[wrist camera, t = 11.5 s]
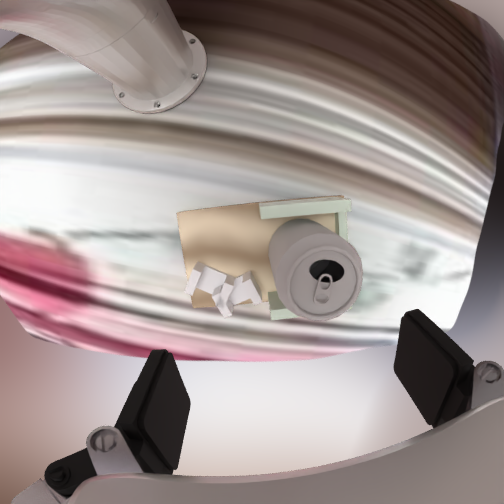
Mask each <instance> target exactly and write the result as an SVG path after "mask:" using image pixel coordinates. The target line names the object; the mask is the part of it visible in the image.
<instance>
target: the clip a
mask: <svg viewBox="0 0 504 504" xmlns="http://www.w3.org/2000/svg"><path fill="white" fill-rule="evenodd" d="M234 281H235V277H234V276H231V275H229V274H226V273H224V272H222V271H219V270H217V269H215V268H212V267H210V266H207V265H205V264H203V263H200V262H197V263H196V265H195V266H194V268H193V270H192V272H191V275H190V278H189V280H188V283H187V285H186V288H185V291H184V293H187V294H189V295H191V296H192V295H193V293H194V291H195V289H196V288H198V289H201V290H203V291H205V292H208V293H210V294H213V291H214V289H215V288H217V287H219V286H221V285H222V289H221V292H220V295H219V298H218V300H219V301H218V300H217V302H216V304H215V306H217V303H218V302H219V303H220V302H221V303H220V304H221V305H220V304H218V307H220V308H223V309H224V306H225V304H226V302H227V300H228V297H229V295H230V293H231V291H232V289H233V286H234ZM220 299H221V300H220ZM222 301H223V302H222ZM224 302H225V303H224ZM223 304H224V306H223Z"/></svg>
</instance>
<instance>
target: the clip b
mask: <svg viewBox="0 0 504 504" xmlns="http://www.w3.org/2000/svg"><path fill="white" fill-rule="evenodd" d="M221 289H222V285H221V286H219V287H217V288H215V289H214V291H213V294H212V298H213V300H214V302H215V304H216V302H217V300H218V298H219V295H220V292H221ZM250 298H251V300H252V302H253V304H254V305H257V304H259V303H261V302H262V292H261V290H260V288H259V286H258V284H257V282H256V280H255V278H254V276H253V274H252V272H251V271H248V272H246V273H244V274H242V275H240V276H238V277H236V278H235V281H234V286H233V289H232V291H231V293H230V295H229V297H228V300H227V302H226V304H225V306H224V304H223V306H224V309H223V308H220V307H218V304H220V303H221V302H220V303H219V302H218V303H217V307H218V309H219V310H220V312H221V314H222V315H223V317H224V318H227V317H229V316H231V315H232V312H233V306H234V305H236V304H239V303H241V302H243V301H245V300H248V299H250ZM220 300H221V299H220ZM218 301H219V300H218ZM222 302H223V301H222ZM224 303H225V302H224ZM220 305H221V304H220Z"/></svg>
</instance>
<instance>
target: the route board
mask: <svg viewBox="0 0 504 504" xmlns="http://www.w3.org/2000/svg"><path fill="white" fill-rule="evenodd" d="M324 197H340V198H344V196H342V195H339V196H324ZM324 197H311V198H324ZM311 198H298V199H287V200H299V199H311ZM287 200H276V201H287ZM276 201H266V202H276ZM266 202H256V203H247V204H238V205H229V206H221V207H213V208H205V209H198V210H190V211H183V212H178V213H177V219H178V226H179V233H180V239H181V245H182V251H183V257H184V263H185V268H186V274H187V279H188V280H189V278H190V275H191V272H192V270H193V268H194V266H195V265H196V263H197V262H200V263H203V264H205V265H207V266H210V267H212V268H215V269H217V270H219V271H222V272H224V273H226V274H229V275H231V276H234V277H235V278H236V277H238V276H240V275H242V274H244V273H246V272H248V271H251V272H252V274H253V276H254V278H255V280H256V282H257V284H258V286H259V288H260V290H261V292H262V302H268V292H274V291H277V289H276V286H275V282H274V277H273V273H272V269H271V264H270V260H269V256H268V253H269V243H270V241H271V238H272V235H273V234H274V233H275V231H276V230H277V229H278V228H279V227H280V226H281V225H283V224H284V223H286V222H287V221H290V220H294V219H297V218H302V219H310V220H313V221H315V222H318V223H319V224H321V225H323V226H324V227H326V228H328V229H329V230H331V231H333V232H334V233H336V231H335V213H324V214H313V215H302V216H291V217H280V218H270V219H261V216H260V211H259V203H266ZM191 300H192V305H193V308H201V307H214V306H215V302H214V300H213V298H212V294H210V293H208V292H205V291H203V290H201V289H198V288H196V289H195V291H194V293H193V295H192V296H191ZM249 303H253V302H252V300H251V298H250V299H248V300H245V301H243V302H241V303H239V304H249ZM236 305H238V304H236Z"/></svg>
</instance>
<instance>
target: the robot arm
mask: <svg viewBox="0 0 504 504" xmlns="http://www.w3.org/2000/svg"><path fill="white" fill-rule="evenodd" d="M0 29H3V30H9V31H14V32H18V33H21V34H25V35H27V36H30V37H32V38H35V39H37V40H40V41H42V42H44V43H46V44H48V45H50V46H51V47H53V48H55V49H57V50H59V51H60V52H62V53H64V54H66V55H68V56H69V57H71V58H73V59H74V60H76V61H78V62H79V63H81V64H83V65H84V66H86V67H88V68H89V69H91V70H93V71H94V72H96V73H97V74H99V75H101V76H102V77H104V78H105V79H107V80H108V81H110V82H111V83H112V87H113V91H114V94H115V96H116V98H117V99H118V101H119V102H120V103H121V104H122V105H123V106H125V107H127V108H128V109H130V110H133V111H135V112H139V113H157V112H162V111H165V110H168V109H171V108H173V107H174V106H176V105H178V104H180V103H181V102H183V101H184V100H185V99H187V98H188V97H189V96H190V95H191V94H192V93H193V92H194V91H195V90H196V89H197V87H198V86H199V84H200V83H201V81H202V79H203V77H204V75H205V71H206V67H207V56H206V52H205V49H204V47H203V45H202V43H201V42H200V40H199V39H198V38H197V37H195V36H194V35H193V34H191V33H189V32H187V31H184V30H181V28H180V26H179V24H178V22H177V20H176V18H175V16H174V14H173V12H172V10H171V8H170V6H169V4H168V2H167V0H0ZM193 43H194V44H193ZM196 77H197V79H195V80H194V78H196ZM123 96H124V97H123ZM158 105H160V106H159V107H158ZM473 362H474V360H472V358H471V357H469V355H468V354H466V353H465V352H464V351H463V350H462V349H461V348H460V347H459V346H458V345H457V344H456V343H455V342H454V341H453V340H452V339H450V337H449V336H448V335H447V334H446V333H445V332H443V331H442V330H441V329H440V328H439V327H438V326H437V325H436V324H435V323H434V322H433V321H431V320H430V319H429V318H428V317H427V316H426V315H425V314H424V313H423V312H421V311H420V310H419V309H415V310H412V311H408V312H406V313H405V314H404V316H403V317H402V318H401V324H400V332H399V338H398V345H397V351H396V357H395V362H394V372H395V374H396V375H397V377H398V378H399V380H400V381H401V383H402V384H403V386H404V387H405V389H406V390H407V392H408V394H409V395H410V397H411V398H412V400H413V402H414V403H415V405H416V406H417V408H418V409H419V411H420V413H421V414H422V416H423V417H424V419H425V420H426V422H427V424H429V425H432V426H433V429H431V430H429V431H427V432H425V433H422V434H420V435H418V436H415V437H413V438H411V439H408V440H406V441H403V442H401V443H398V444H395V445H393V446H390V447H387V448H384V449H381V450H378V451H375V452H372V453H369V454H366V455H362V456H359V457H355V458H352V459H348V460H344V461H340V462H336V463H332V464H327V465H322V466H318V467H313V468H307V469H302V470H295V471H288V472H280V473H272V474H261V475H249V476H182V475H172V474H173V470H176V469H177V468H178V464H179V459H180V454H181V449H182V444H183V439H184V434H185V429H186V425H187V420H188V415H189V411H190V398H189V396H188V393H187V391H186V388H185V386H184V383H183V381H182V379H181V376H180V373H179V371H178V368H177V365H176V362H175V360H174V357H173V355H172V353H168V351H167V350H166V349H162V350H152V351H151V353H150V355H149V357H148V359H147V361H146V363H145V365H144V367H143V369H142V372H141V373H140V376H139V377H138V380H137V381H136V382H135V384H134V386H133V388H132V390H131V392H130V394H129V396H128V398H127V401H126V402H125V405H124V407H123V409H122V411H121V413H120V415H119V418H118V420H117V422H116V424H115V426H114V427H111V426H102V427H98V428H97V429H95V430H93V431H92V432H91V433H90V434H89V436H88V437H87V441H86V444H87V448H85V449H83V450H81V451H79V452H76V453H74V454H72V455H69V456H67V457H65V458H62V459H60V460H57V461H55V462H53V463H51V464H50V465H49V466H48V467H47V469H46V471H45V475H44V476H45V479H44V480H42V479H41V478H40V479H39V480H37V481H36V482H35V483H33V484H32V485H31V486H29V487H28V488H27V489H25V490H24V491H23V492H21V493H20V494H18V495H17V496H16V497H14V499H13V500H12V502H11V504H504V370H503V368H502V367H501V366H500V365H499V364H497V363H496V362H493V361H483V362H480V363H479V364H477V365H476V367H474V365H473Z"/></svg>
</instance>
